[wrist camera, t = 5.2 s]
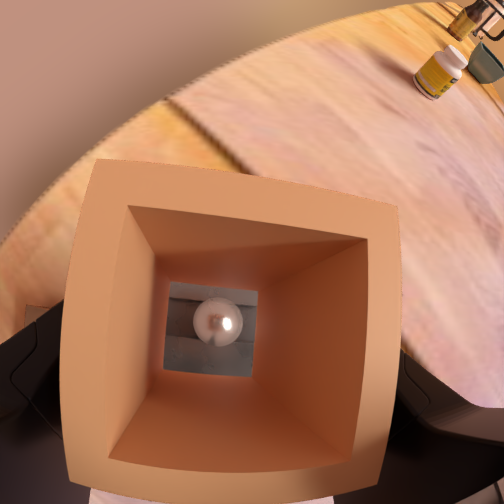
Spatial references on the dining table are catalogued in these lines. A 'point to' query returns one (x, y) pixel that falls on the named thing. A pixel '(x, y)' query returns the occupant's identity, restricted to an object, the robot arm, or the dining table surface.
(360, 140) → the dining table surface
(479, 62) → the flower pot
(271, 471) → the sleeve
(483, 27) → the coffee press
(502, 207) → the dining table surface
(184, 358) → the vise
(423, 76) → the supplement bottle
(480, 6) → the sauce bottle
